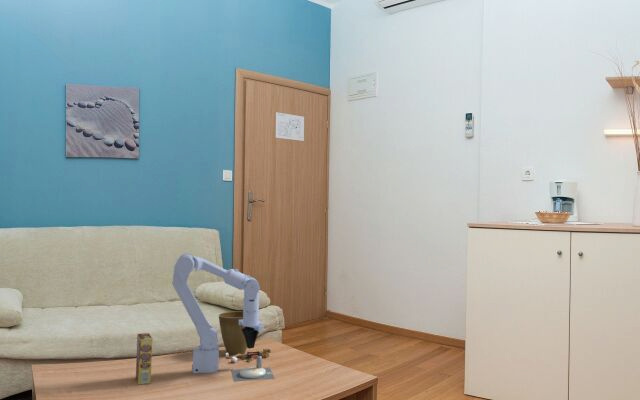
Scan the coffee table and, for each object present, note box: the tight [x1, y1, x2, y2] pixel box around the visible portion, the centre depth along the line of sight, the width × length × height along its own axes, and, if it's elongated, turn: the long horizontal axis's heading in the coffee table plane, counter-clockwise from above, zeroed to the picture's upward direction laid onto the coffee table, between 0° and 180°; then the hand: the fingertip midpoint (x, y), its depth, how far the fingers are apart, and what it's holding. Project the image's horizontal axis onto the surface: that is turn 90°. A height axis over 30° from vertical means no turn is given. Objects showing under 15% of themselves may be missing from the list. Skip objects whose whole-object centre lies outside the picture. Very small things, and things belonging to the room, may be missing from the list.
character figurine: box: [225, 348, 272, 364], centre depth 199 cm, size 10×18×4 cm, turn 118°
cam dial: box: [240, 356, 266, 378], centre depth 178 cm, size 9×9×5 cm
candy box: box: [135, 332, 153, 385], centre depth 174 cm, size 9×4×15 cm, turn 26°
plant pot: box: [218, 310, 248, 356], centre depth 209 cm, size 15×15×16 cm
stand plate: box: [231, 367, 276, 383], centre depth 178 cm, size 14×13×1 cm
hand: (250, 347), depth 186 cm, fingers closed
